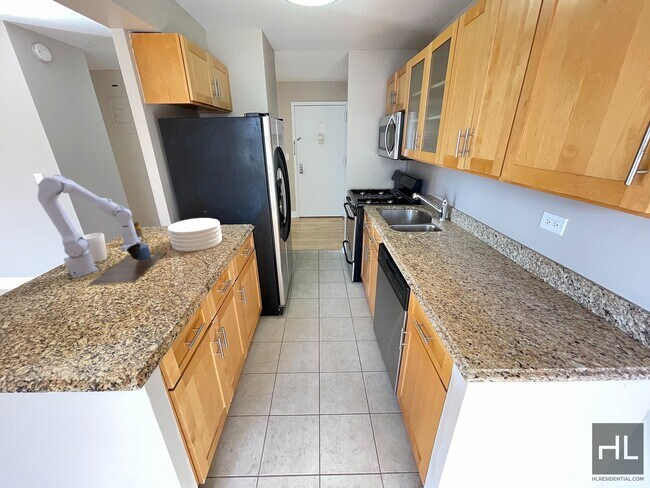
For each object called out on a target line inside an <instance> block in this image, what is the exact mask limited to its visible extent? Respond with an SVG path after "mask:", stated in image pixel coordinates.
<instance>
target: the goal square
mask: <svg viewBox="0 0 650 488" xmlns="http://www.w3.org/2000/svg"><path fill="white" fill-rule="evenodd" d="M154 255H156V254H154ZM154 255H153V256H154ZM153 256H152V255H151V258H152V257H153ZM151 258H150V259H151ZM150 259H148V261H149V260H150ZM132 260H133V262H136V261H137V260H136V259H132ZM144 261H146V260H144ZM144 261H143V262H144ZM130 262H132V261H130ZM137 262H141V261H137Z"/></svg>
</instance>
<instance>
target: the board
mask: <svg viewBox="0 0 650 488" xmlns="http://www.w3.org/2000/svg"><path fill="white" fill-rule="evenodd" d="M150 254H151V255H152V256H153V255H154V254H156V255H154V256H153V257H152V258H151V259H150V258H149V259H150V260H149V261H148V259H147V260H146V261H144V260H143V261H144V262H143V261H141V262H137V261H136V262H133V260H132V259H133V258H132V256H131V255H130V254H129V255H128V256H126V257H125V258H124V259H122V260H121V261H119V262H118V263H117V264H115V265H114V266H112V267H111V268H110V269H108V270H107V271H106V272H104V273H103V274H101V275H100V276H99V277H97V278H96V279H95V280H93V281H92V282H90V283H89V285H103V284H118V283H119V284H121V283H133V282H134V283H135V282H136V281H137V280H138V279H140V278H141V276H143V275H144V274H145V273H146V272H147V271H148V270H149V269H150V268H152V266H154V265H155V264H156V263H157V262H158V261H159V260H160V259H162V258H163V257H164V256H165V255H166V254H167V252H153V253H150ZM130 261H132V262H130Z"/></svg>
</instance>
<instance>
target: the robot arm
mask: <svg viewBox="0 0 650 488" xmlns="http://www.w3.org/2000/svg"><path fill="white" fill-rule="evenodd" d="M37 187H38V191H37V200H38V202H39V203H40V205H41V206H42V208H43V210H44V211H45V213H46V214H47V216H48V218H49V220H51V222H52V224H53V226H55V228H56V230H57V232H58V233H59V235H60V236H61V237H62V245H63V248H64V253H65V254H66V255H67V256H66V257H64V258H63V262H64V264H65V266H66V269H67V273H68V274H69V276H71V278H73V279H74V278H78V277H82V276H85V275H88V274H92V273H95V272H99V271H100V269H99V268H98V267H97V266H96V264H95V262H94V261H93V259H92V256H91V253H90V251H89V250H88V247H89V242H88V241H87V240H86V239H84V238H83V237H82V236H83V235H82V234H81V233H79V232H77V230H76V228H75V227H74V224H73V223H72V221H71V220H70V218H69V217H68V215H67V213H66V212H65V210H64V208H63V207H62V205H61V203H60V201H59V200H58V199H59V197H60V196H61V195H62V194H73V195H76V196H78V197H80V198H83V199H84V200H86V201H89V202H90V203H92V204H94V205H95V207H96V208H97V210H100V211H102V212H103V213H105V214H107V215H109V216H111V217H114V220H115V221H116V222H117V223H118V227H119V231H120V234H121V237H122V241H123V244H121V246H120V250H121V252H128V254H129V255H131V256H132V258H133V259H139V250H140V246H141V245H142V243H140V242H141V240H142V238H141V237H137V234H136V231H135V227H134V223H133V222H134V221H133V219H132V215H133V213H132V211H131V210H130V209H129V208H128V207H124V206H123V205H119V204H118V203H116V202H114V201H113V199H111V198H107V197H100V196H98V195H96V194H95V193H93V192H91V191H90V190H88V189H87V188H85V187H83V186H81V185H79V184H78V183H77V182H75V181H73V180H72V179H70V178H68V177H66V176H64V175H61V174H55V175H52V176H48V177H43V179H41V180H40V181H39V183H38V184H37ZM137 243H140V244H137Z"/></svg>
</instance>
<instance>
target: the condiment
mask: <svg viewBox="0 0 650 488" xmlns="http://www.w3.org/2000/svg"><path fill="white" fill-rule="evenodd" d="M133 223H134V227H135V231H136V234H137V237H141V238H142V240H141V242H140V243H137V244H145V243H146V240H145V238H144V236H143V231H142V228H141V226H140V224H139V222H138V221H133Z"/></svg>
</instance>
